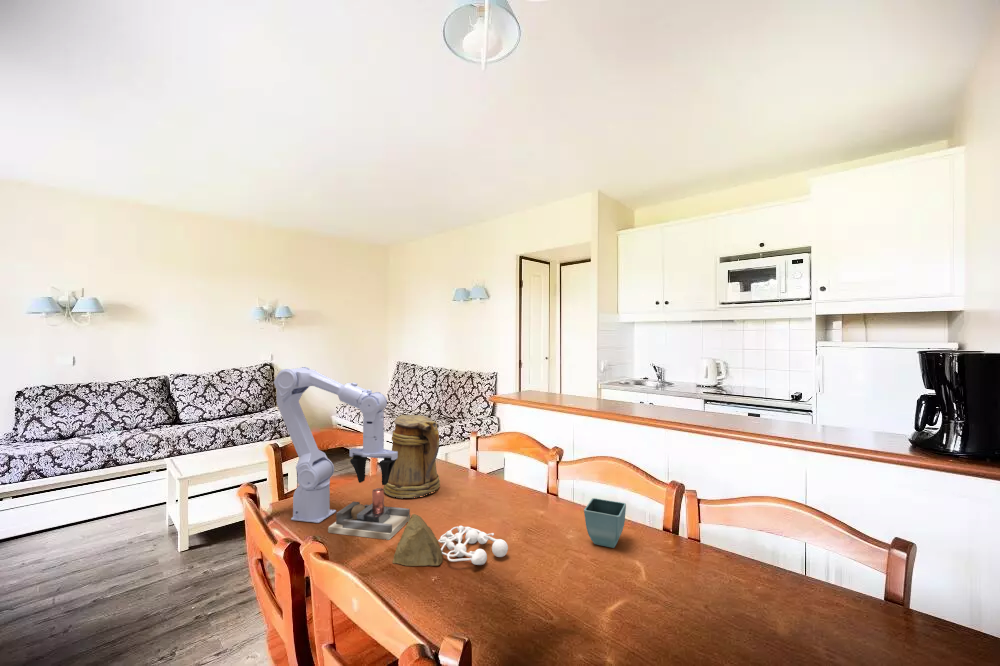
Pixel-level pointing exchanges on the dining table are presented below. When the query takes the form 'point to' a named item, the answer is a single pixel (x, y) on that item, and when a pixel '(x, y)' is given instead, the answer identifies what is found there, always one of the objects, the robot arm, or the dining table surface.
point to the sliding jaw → (375, 509)
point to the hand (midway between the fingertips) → (373, 482)
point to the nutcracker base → (369, 523)
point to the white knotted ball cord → (471, 537)
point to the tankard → (414, 457)
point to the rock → (418, 545)
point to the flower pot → (605, 521)
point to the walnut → (357, 510)
